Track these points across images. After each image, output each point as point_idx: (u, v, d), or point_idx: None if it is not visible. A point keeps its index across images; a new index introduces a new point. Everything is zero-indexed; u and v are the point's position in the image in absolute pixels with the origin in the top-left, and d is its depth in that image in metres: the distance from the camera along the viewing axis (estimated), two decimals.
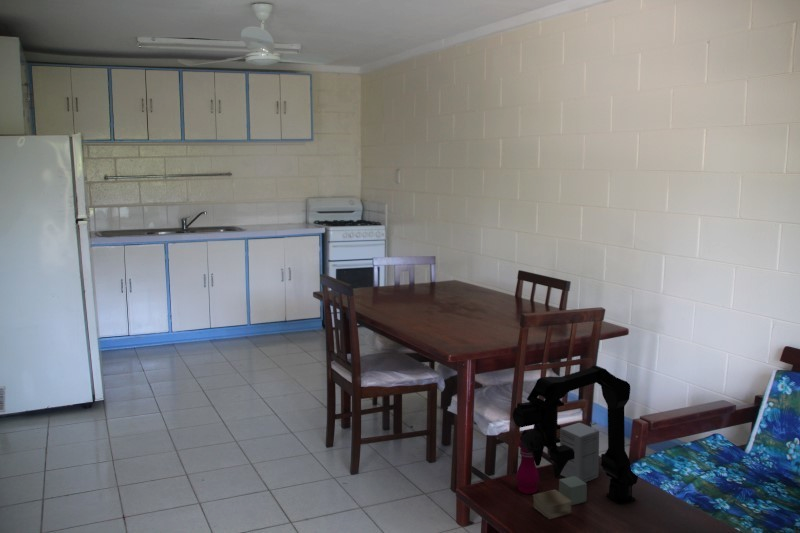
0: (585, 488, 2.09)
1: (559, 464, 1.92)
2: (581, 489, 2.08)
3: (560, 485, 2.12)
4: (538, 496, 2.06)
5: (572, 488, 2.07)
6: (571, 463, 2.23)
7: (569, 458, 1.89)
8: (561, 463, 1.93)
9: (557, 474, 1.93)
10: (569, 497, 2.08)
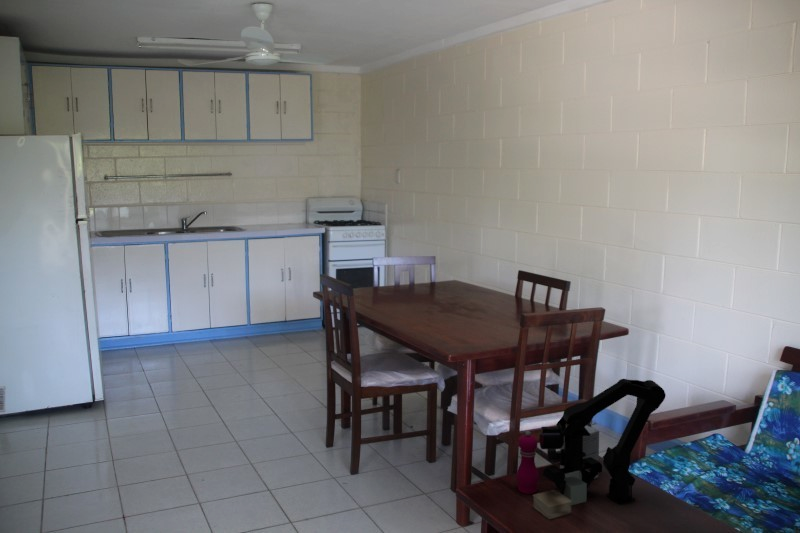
0: (585, 488, 2.09)
1: (558, 484, 2.08)
2: (581, 489, 2.08)
3: None
4: (538, 496, 2.06)
5: (572, 488, 2.07)
6: None
7: (550, 478, 2.06)
8: (559, 485, 2.08)
9: None
10: (569, 497, 2.08)
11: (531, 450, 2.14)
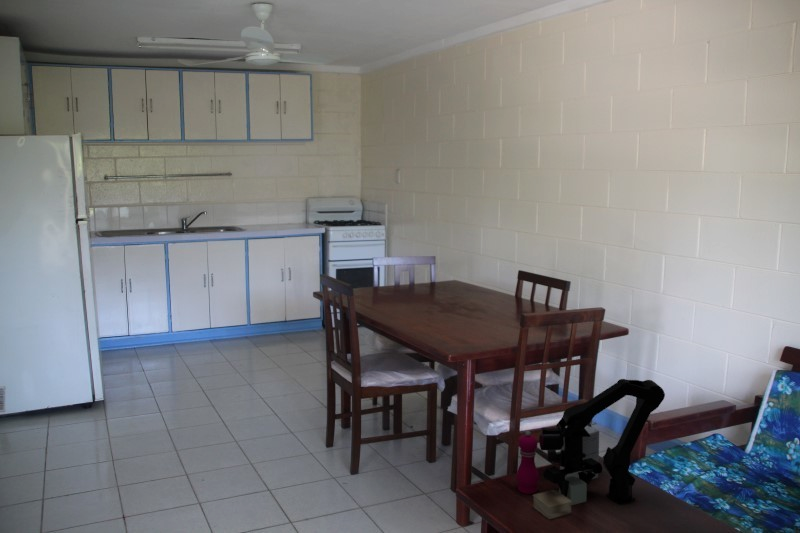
0: (585, 488, 2.09)
1: (561, 485, 2.09)
2: (581, 488, 2.08)
3: None
4: (538, 496, 2.06)
5: (572, 488, 2.07)
6: None
7: (550, 480, 2.06)
8: (562, 485, 2.08)
9: (562, 493, 2.10)
10: (569, 497, 2.08)
11: (531, 450, 2.14)
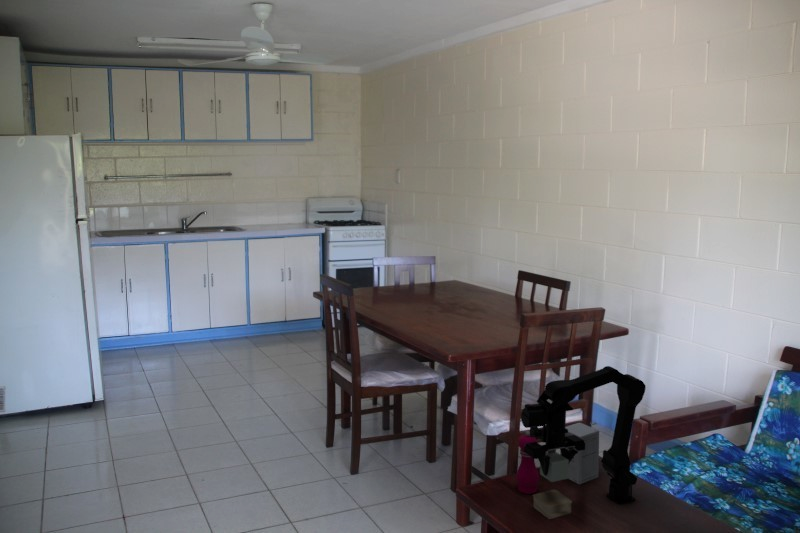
0: (567, 464, 2.02)
1: (542, 461, 2.02)
2: (562, 465, 2.01)
3: None
4: (538, 496, 2.06)
5: (553, 464, 2.00)
6: (571, 463, 2.23)
7: (530, 455, 1.99)
8: (543, 461, 2.01)
9: (543, 470, 2.03)
10: (549, 473, 2.01)
11: None
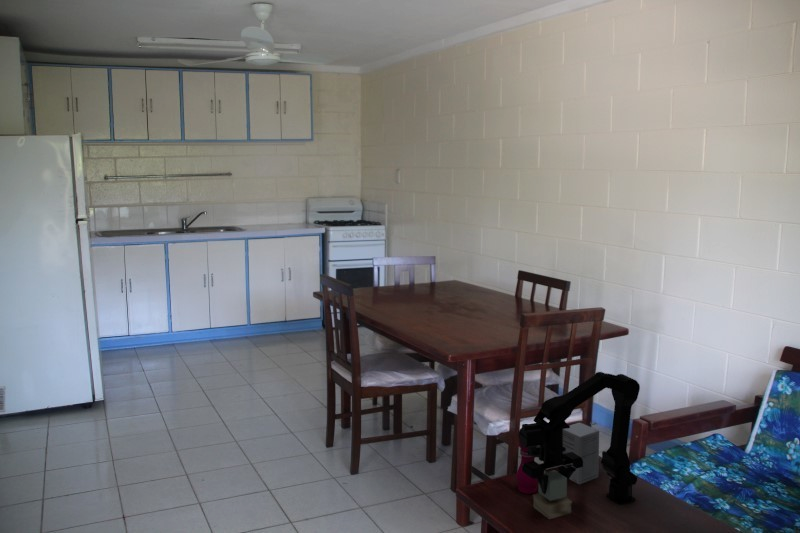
0: (565, 482, 2.02)
1: (541, 480, 2.01)
2: (561, 483, 2.01)
3: None
4: (538, 496, 2.06)
5: (551, 482, 2.00)
6: None
7: (528, 474, 1.98)
8: (542, 480, 2.01)
9: (541, 489, 2.02)
10: (548, 492, 2.01)
11: None
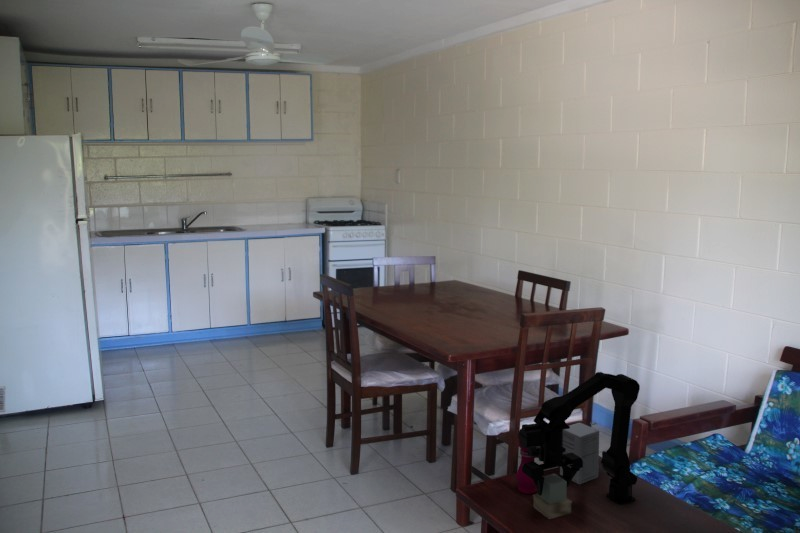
0: (565, 486, 2.02)
1: (537, 481, 2.01)
2: (561, 487, 2.01)
3: None
4: (538, 496, 2.06)
5: (551, 486, 2.00)
6: None
7: (528, 475, 1.98)
8: (538, 481, 2.00)
9: (537, 490, 2.02)
10: (548, 495, 2.01)
11: None
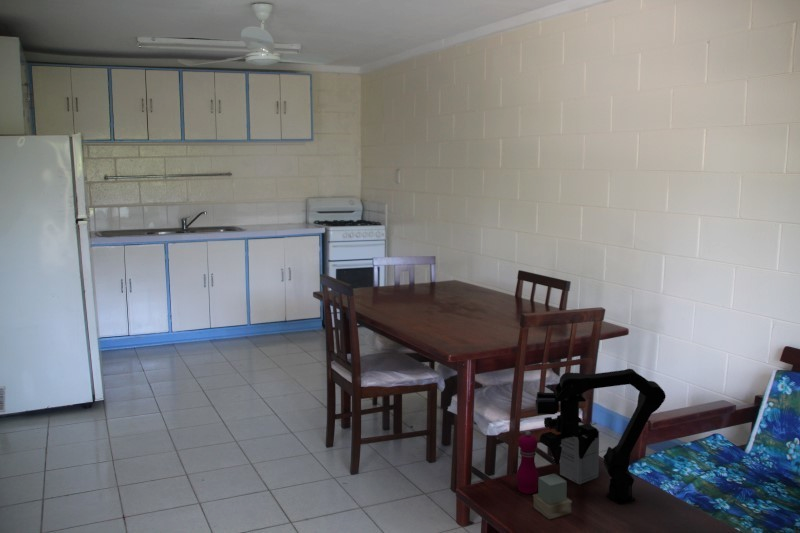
0: (565, 486, 2.02)
1: (554, 451, 2.08)
2: (561, 487, 2.01)
3: (539, 483, 2.05)
4: (538, 496, 2.06)
5: (551, 486, 2.00)
6: (571, 463, 2.23)
7: (546, 444, 2.06)
8: (555, 451, 2.07)
9: (555, 460, 2.09)
10: (548, 495, 2.01)
11: (531, 450, 2.14)
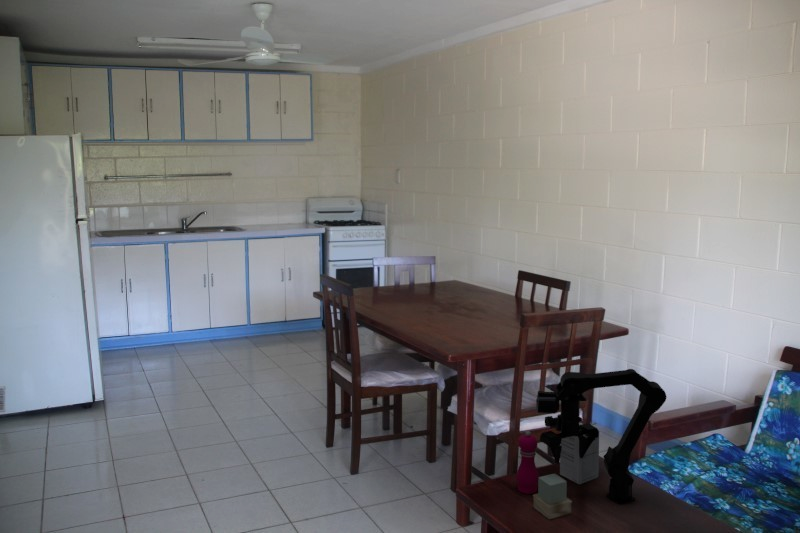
0: (565, 486, 2.02)
1: (554, 450, 2.08)
2: (561, 487, 2.01)
3: (539, 483, 2.05)
4: (538, 496, 2.06)
5: (551, 486, 2.00)
6: (571, 463, 2.23)
7: (546, 443, 2.06)
8: (555, 450, 2.08)
9: (555, 459, 2.09)
10: (548, 495, 2.01)
11: (531, 450, 2.14)
